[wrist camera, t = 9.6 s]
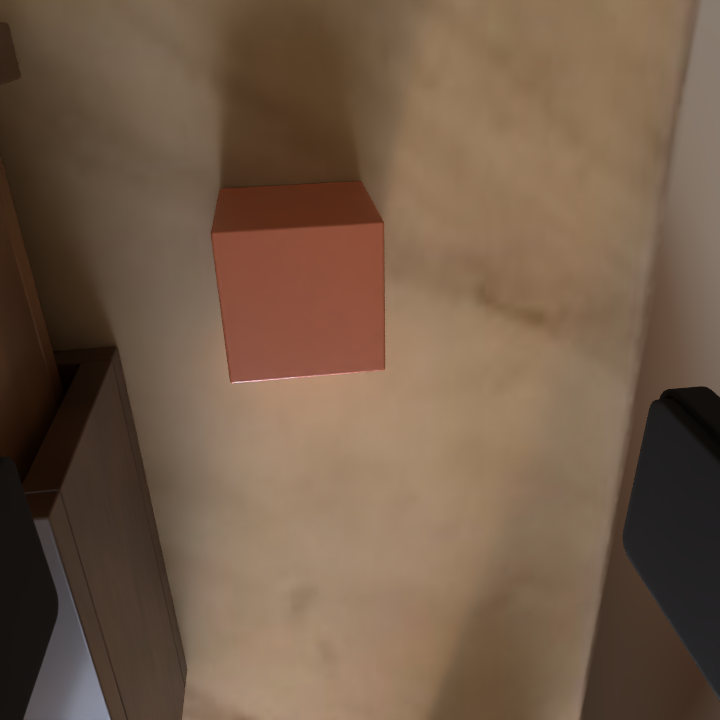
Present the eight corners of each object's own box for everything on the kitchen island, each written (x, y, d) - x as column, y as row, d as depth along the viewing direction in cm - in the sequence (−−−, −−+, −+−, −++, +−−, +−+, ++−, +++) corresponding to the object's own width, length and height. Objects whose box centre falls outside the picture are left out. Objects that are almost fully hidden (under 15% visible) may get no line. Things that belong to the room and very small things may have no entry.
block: (234, 319, 21) (229, 384, 17) (219, 188, 19) (210, 231, 15) (364, 309, 21) (385, 371, 18) (362, 180, 19) (384, 221, 16)
